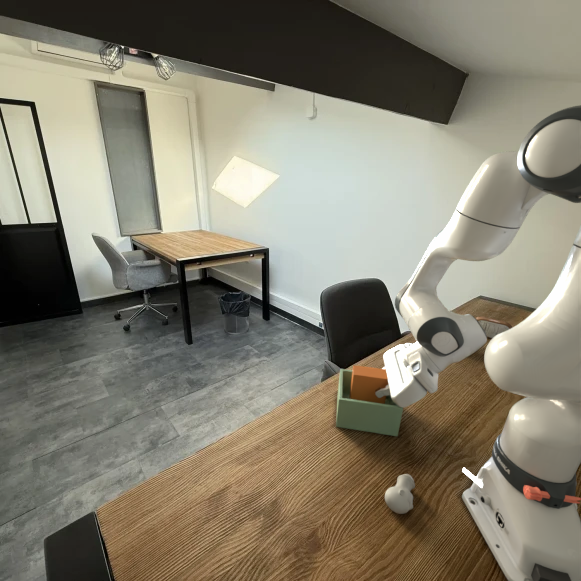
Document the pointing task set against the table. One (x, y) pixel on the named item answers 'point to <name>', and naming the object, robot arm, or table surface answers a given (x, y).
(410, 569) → the table surface
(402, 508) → the pale two-lobed sculpture
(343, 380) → the bin
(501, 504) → the robot arm
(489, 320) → the tin
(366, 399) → the block
